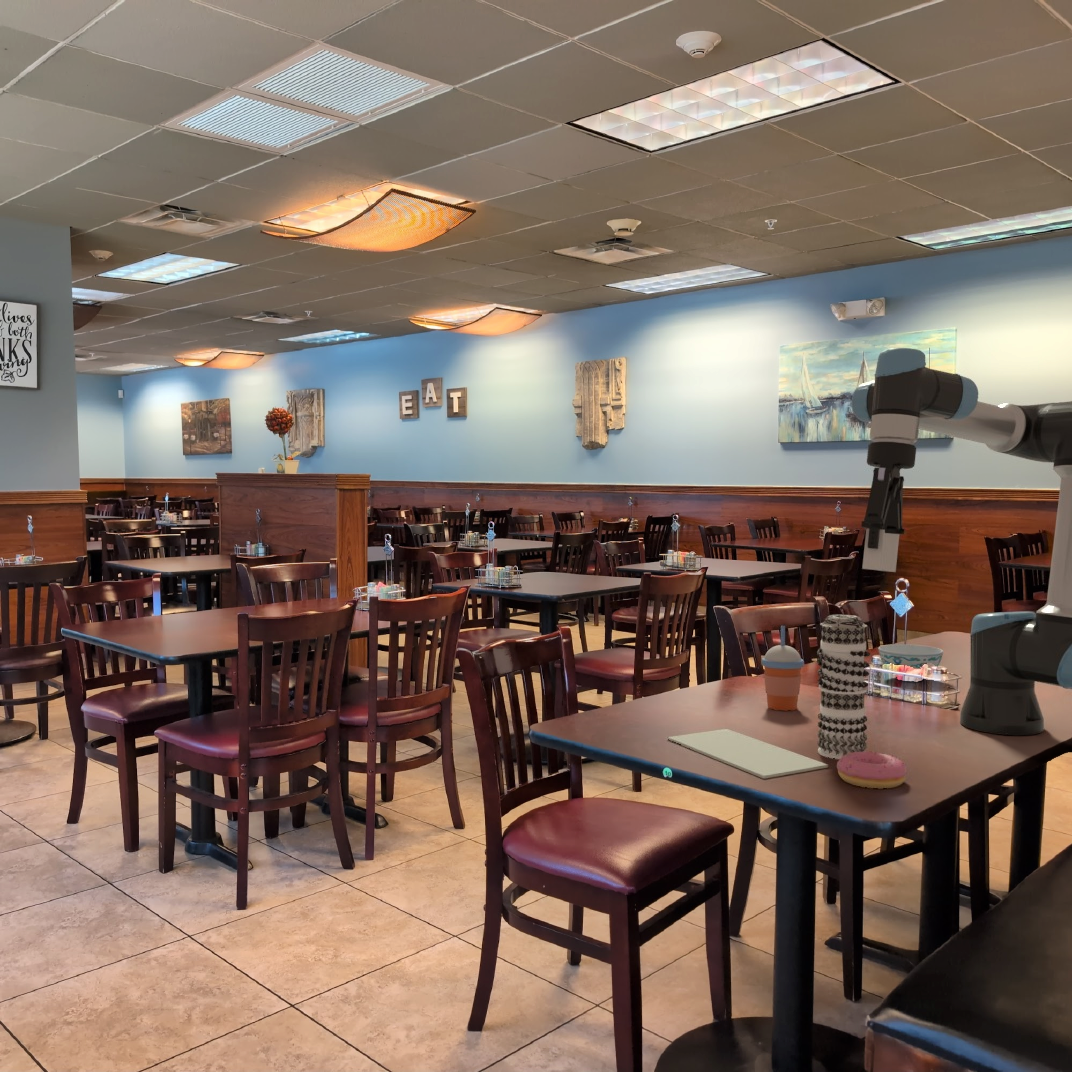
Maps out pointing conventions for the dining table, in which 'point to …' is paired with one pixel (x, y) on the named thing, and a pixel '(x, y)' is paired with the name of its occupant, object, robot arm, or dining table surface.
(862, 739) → the decorative candle
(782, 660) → the cup with straw
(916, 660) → the chinaware
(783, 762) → the sage rubber mat
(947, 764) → the dining table surface
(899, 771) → the doughnut
